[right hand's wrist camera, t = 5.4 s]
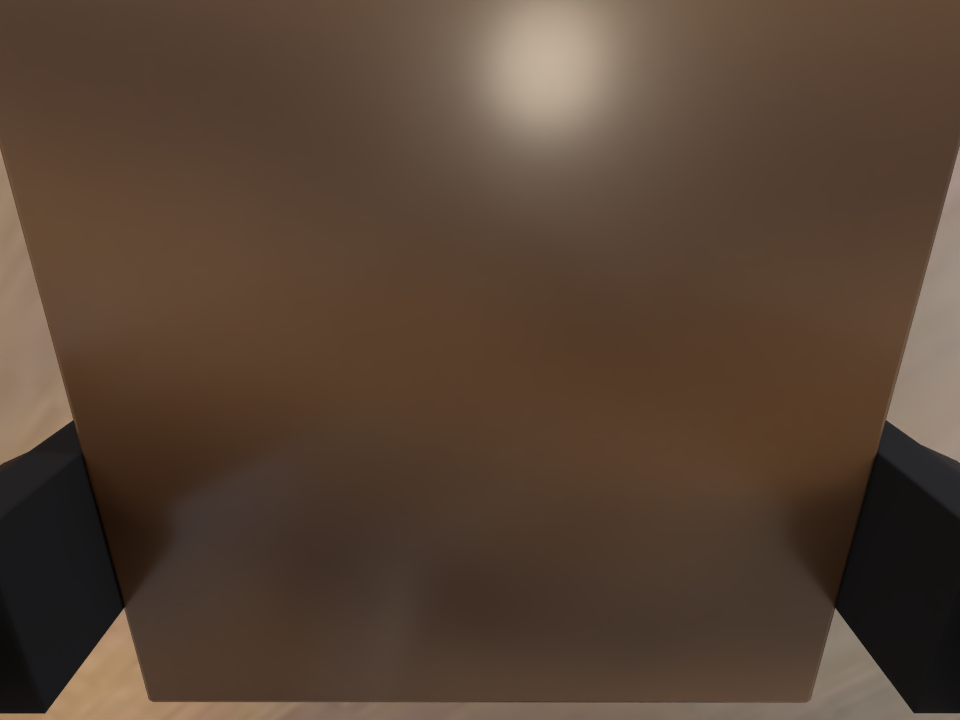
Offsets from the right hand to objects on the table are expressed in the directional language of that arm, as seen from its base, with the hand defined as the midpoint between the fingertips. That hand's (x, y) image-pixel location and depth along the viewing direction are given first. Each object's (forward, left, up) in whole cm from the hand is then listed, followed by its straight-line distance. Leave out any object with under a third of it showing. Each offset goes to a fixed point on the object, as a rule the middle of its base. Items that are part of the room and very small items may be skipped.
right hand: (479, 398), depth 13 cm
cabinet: (+4, +4, -3) cm, 7 cm away
